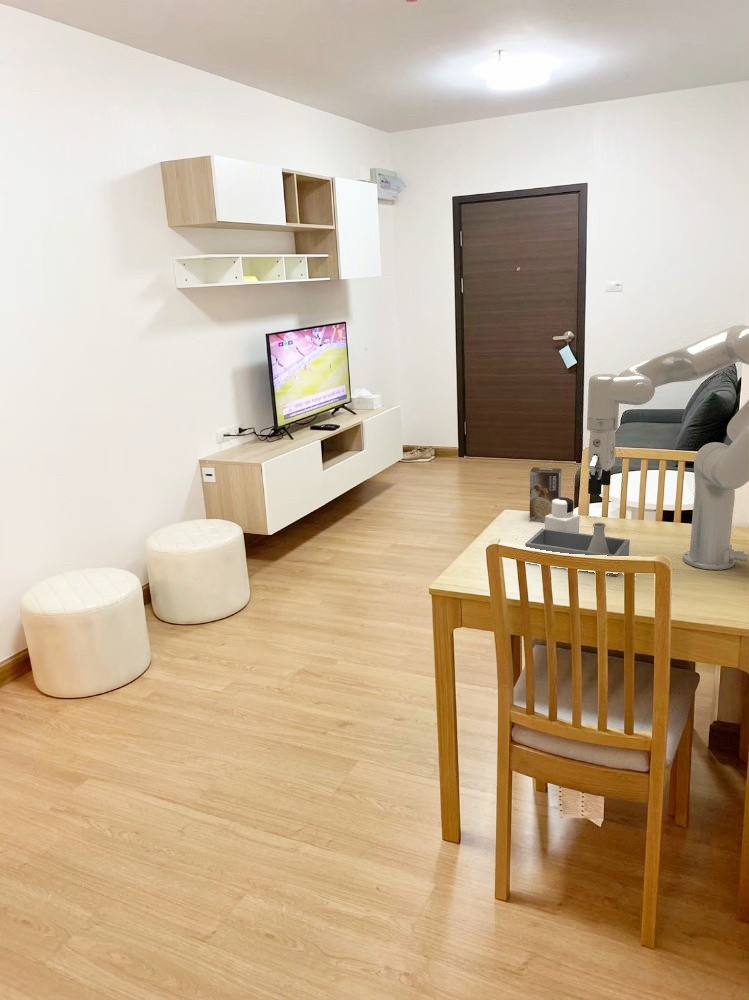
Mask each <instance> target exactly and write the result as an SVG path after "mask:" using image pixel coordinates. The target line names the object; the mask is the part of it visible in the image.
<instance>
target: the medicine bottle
mask: <svg viewBox="0 0 749 1000" xmlns="http://www.w3.org/2000/svg"><path fill="white" fill-rule="evenodd" d="M574 503H575V502H574V500H573V499H572V498H570V497H569V498H568V497H565V496H563V497H562V496H561V497H559V498H555V499H553V500H552V514H549V515H546V516H545V522H544V529H552V530H559V531H567V532H574V533H580V517H581V516H580V514H576V513H574V506H575V505H574Z"/></svg>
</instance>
